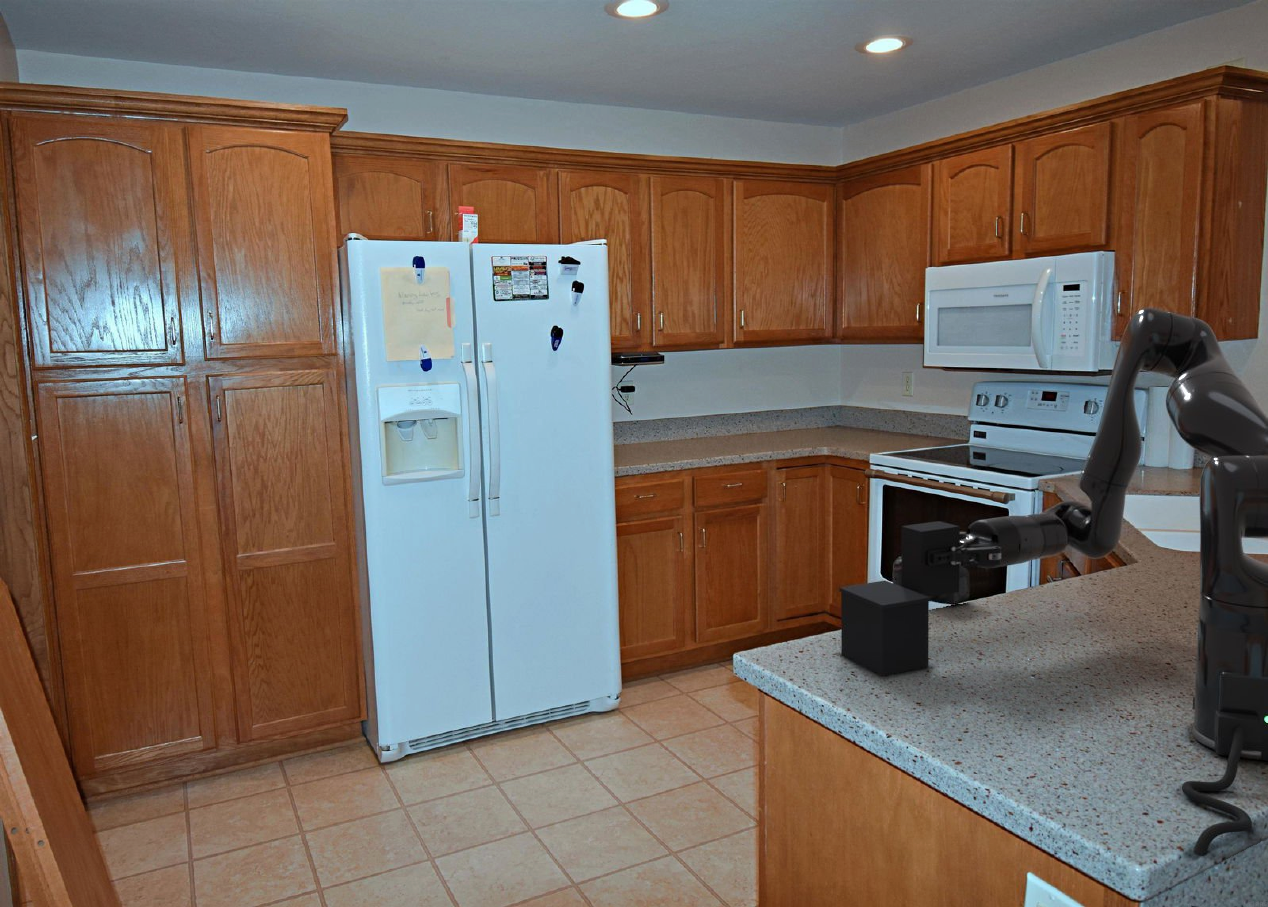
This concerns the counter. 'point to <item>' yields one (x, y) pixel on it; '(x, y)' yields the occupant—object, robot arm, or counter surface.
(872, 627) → the black lidded box
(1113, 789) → the counter surface
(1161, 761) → the counter surface
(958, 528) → the upright black block
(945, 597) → the camera
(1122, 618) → the counter surface
